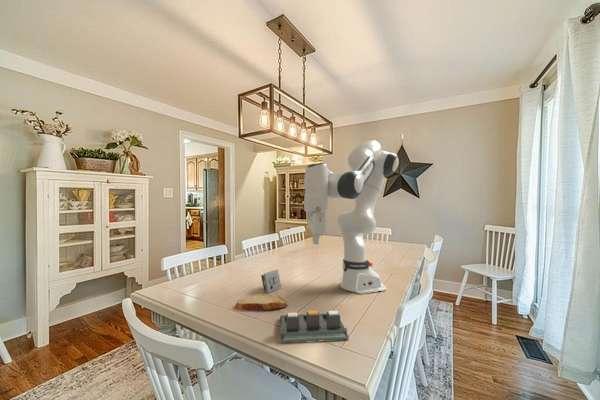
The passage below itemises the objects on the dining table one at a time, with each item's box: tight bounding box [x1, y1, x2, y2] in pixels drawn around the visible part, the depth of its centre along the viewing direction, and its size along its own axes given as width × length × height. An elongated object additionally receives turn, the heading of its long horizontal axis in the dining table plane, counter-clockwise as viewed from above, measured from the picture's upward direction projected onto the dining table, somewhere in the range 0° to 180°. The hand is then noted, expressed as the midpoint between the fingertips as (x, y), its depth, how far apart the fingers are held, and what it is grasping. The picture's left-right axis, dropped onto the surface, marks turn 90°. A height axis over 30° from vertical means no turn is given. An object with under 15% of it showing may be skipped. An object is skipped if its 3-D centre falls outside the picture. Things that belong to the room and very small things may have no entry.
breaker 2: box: [326, 310, 341, 329], centre depth 83 cm, size 4×3×6 cm
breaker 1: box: [286, 312, 299, 331], centre depth 81 cm, size 4×3×6 cm
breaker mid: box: [306, 310, 320, 330], centre depth 83 cm, size 4×3×6 cm
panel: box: [279, 312, 349, 344], centre depth 85 cm, size 22×15×2 cm
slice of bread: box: [234, 294, 288, 311], centre depth 103 cm, size 18×18×4 cm
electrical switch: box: [260, 269, 282, 294], centre depth 121 cm, size 9×5×9 cm, turn 141°
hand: (315, 243), depth 90 cm, fingers closed
